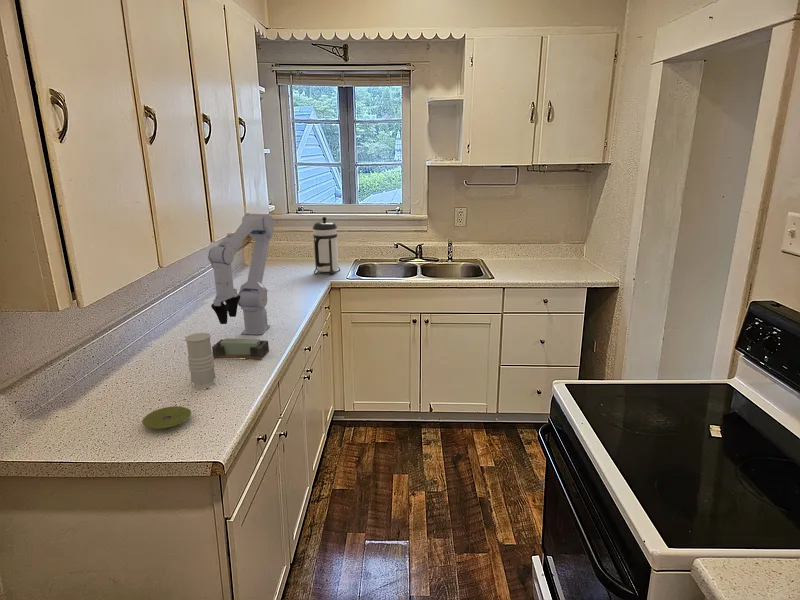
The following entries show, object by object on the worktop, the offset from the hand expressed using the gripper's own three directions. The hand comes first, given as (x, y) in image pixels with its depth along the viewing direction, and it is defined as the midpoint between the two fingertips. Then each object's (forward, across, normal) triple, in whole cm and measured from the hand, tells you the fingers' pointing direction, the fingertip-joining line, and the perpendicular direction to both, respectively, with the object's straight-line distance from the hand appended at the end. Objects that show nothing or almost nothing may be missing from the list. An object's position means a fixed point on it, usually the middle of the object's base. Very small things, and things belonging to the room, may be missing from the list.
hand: (228, 320), depth 182 cm
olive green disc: (+10, -53, -6) cm, 54 cm away
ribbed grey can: (+10, -31, -5) cm, 33 cm away
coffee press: (+10, +108, -8) cm, 109 cm away
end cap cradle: (+9, -8, -7) cm, 14 cm away
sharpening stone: (+8, -8, -7) cm, 14 cm away
